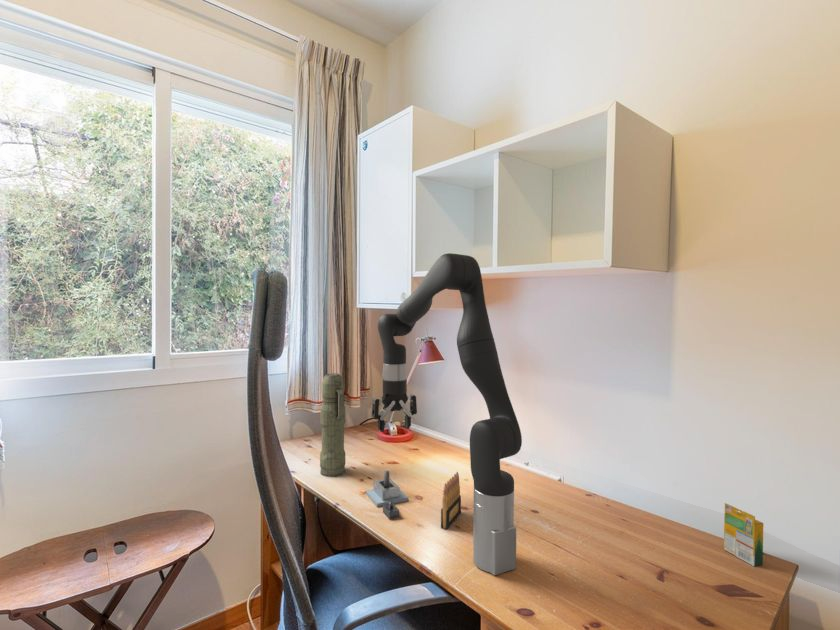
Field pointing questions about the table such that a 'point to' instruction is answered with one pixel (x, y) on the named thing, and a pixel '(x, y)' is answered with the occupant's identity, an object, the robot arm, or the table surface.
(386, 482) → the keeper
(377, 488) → the steel link
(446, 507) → the ammunition clip
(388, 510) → the anchor cleat
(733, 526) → the crayon box
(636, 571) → the table surface
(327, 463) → the thermos
